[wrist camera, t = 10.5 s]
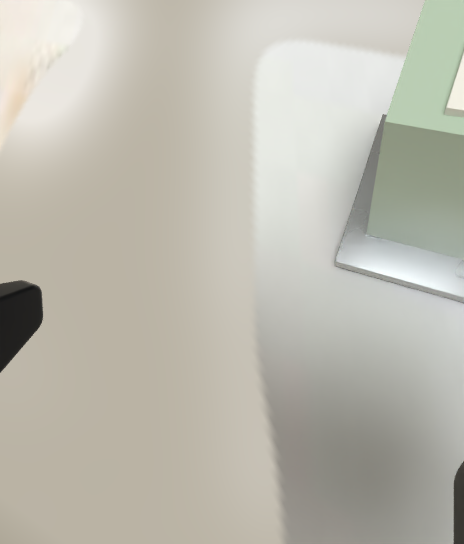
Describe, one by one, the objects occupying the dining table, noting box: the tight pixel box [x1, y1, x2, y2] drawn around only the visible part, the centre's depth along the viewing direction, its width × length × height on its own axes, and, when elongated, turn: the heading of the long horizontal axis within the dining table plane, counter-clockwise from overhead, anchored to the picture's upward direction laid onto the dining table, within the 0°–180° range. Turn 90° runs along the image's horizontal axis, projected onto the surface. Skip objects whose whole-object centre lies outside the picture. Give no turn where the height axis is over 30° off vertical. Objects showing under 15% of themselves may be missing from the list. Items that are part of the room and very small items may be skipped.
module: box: [366, 0, 464, 260], centre depth 15 cm, size 5×4×10 cm
